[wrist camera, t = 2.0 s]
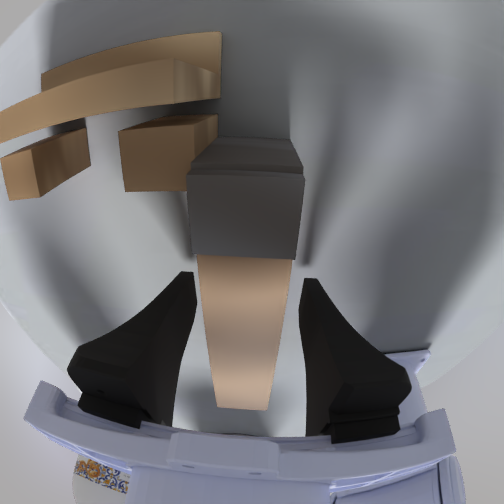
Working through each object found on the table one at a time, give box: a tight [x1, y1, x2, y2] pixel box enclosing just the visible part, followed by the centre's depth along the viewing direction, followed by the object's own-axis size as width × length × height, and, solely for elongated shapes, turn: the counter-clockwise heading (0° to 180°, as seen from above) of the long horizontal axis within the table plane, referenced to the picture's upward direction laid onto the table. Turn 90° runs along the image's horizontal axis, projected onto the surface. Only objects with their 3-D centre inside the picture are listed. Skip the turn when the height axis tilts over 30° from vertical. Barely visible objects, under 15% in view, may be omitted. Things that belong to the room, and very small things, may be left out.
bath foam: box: [72, 454, 131, 504], centre depth 15 cm, size 7×7×20 cm
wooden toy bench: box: [0, 31, 222, 201], centre depth 7 cm, size 6×9×6 cm, turn 88°
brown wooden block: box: [186, 137, 305, 410], centre depth 12 cm, size 14×3×5 cm, turn 178°
